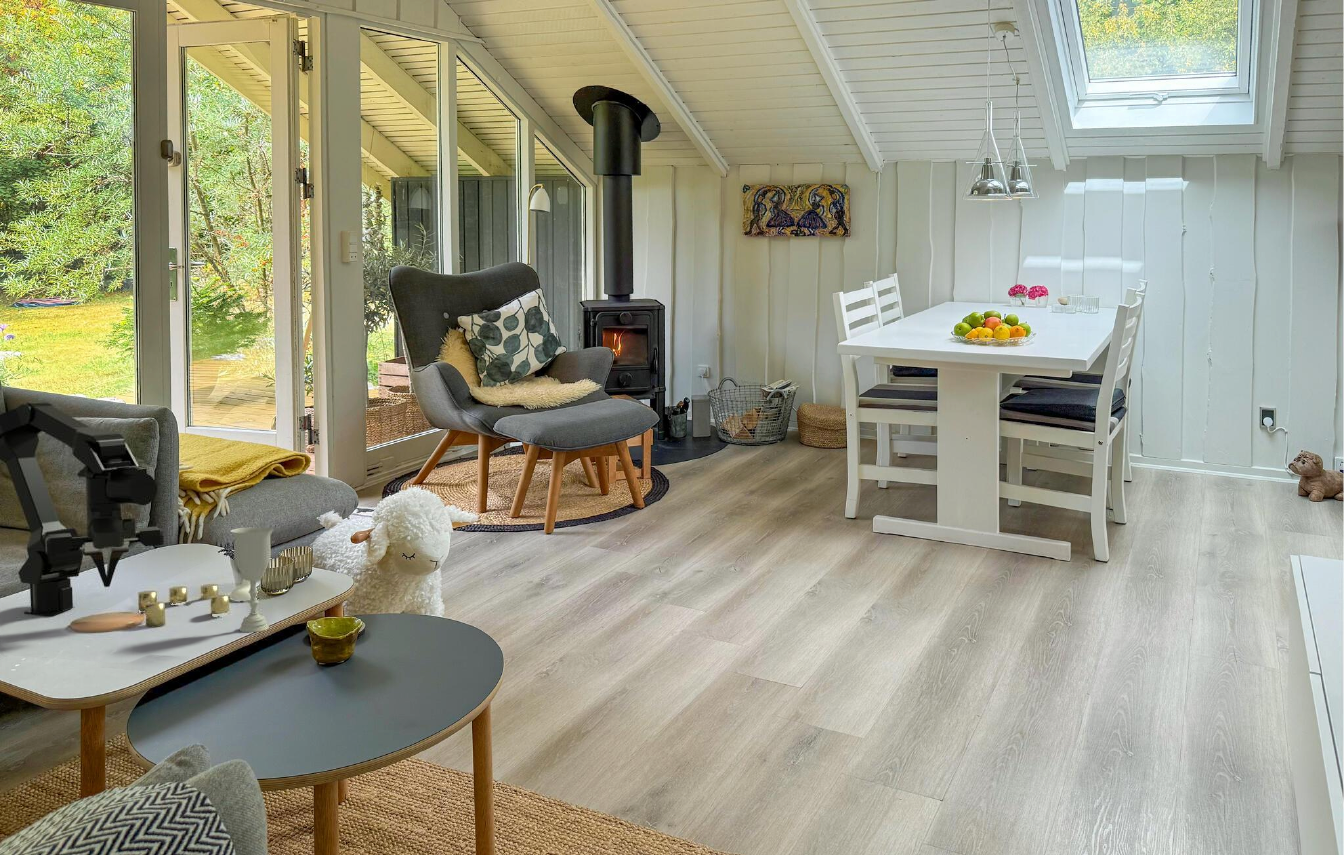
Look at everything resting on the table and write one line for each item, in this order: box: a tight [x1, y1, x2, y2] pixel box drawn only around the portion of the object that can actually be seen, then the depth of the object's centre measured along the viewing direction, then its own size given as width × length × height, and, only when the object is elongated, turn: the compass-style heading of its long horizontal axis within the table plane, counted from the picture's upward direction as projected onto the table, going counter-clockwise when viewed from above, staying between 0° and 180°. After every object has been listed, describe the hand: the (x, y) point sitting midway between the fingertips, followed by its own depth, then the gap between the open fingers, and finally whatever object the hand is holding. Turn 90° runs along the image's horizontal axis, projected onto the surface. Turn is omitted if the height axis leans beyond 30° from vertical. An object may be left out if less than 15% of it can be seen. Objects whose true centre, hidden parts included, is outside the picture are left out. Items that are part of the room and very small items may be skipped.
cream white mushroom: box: [229, 577, 257, 600], centre depth 208 cm, size 6×6×8 cm
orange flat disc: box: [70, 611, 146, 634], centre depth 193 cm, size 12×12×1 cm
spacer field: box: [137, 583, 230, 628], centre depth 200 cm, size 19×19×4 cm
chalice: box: [230, 526, 274, 633], centre depth 190 cm, size 7×7×18 cm
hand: (106, 586), depth 193 cm, fingers closed
